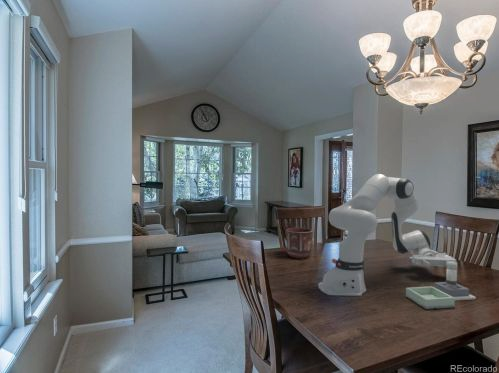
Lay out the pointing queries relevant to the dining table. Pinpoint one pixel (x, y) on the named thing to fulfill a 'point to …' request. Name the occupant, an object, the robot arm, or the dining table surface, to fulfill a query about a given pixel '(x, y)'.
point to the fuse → (451, 274)
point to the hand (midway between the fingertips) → (439, 265)
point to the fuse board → (454, 291)
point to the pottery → (299, 242)
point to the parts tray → (430, 297)
